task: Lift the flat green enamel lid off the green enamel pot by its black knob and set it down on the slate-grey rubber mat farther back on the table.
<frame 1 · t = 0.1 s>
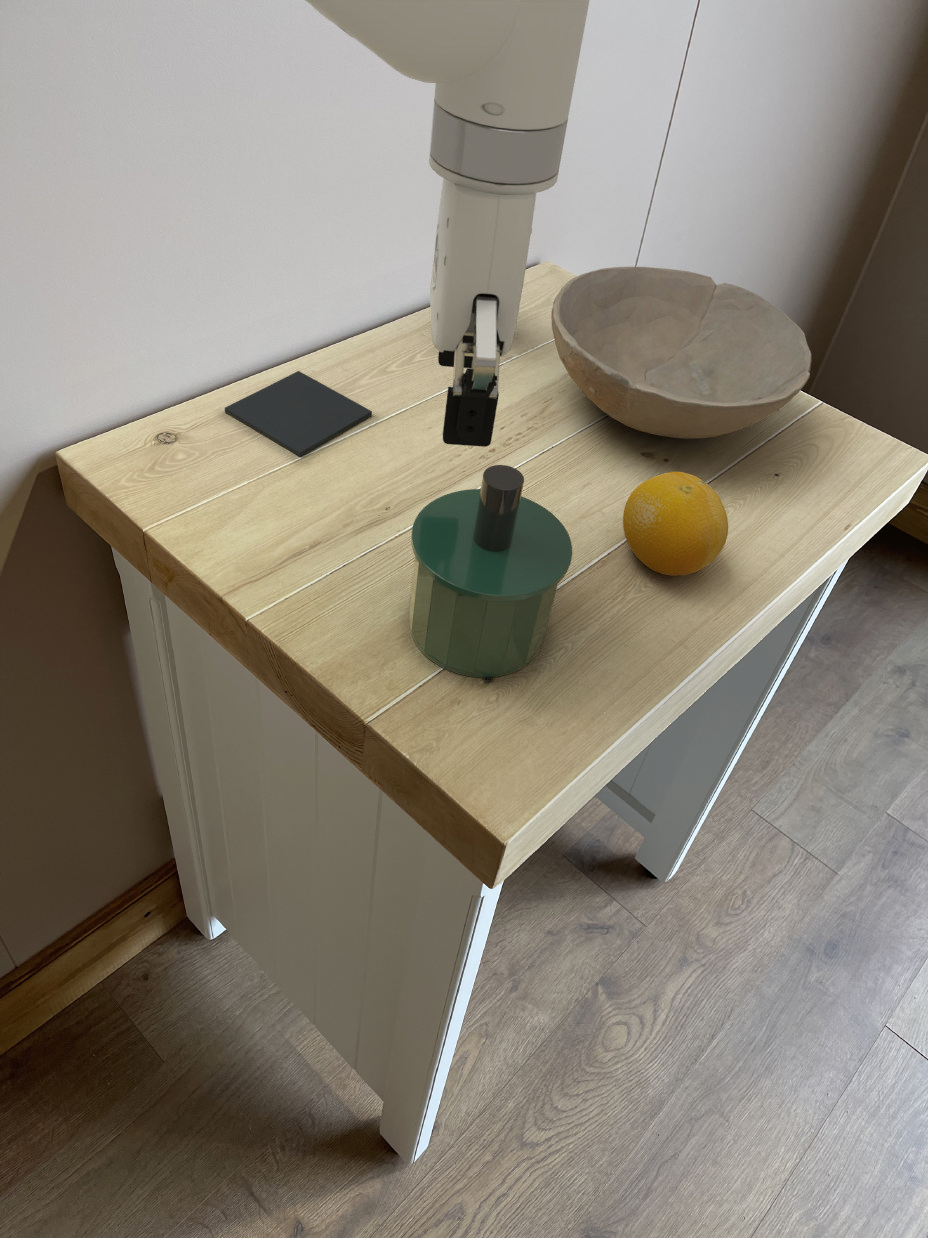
hand: (462, 402, 64), 16 cm above the table, tool pointing down, fingers open, 9 cm apart
fruit: (661, 560, 81), on the table
pot: (476, 626, 72), on the table
lid: (491, 545, 66), point 8 cm above the table, touching pot
beverage cup: (461, 334, 105), on the table
bowl: (656, 412, 98), on the table
mat: (299, 413, 90), on the table
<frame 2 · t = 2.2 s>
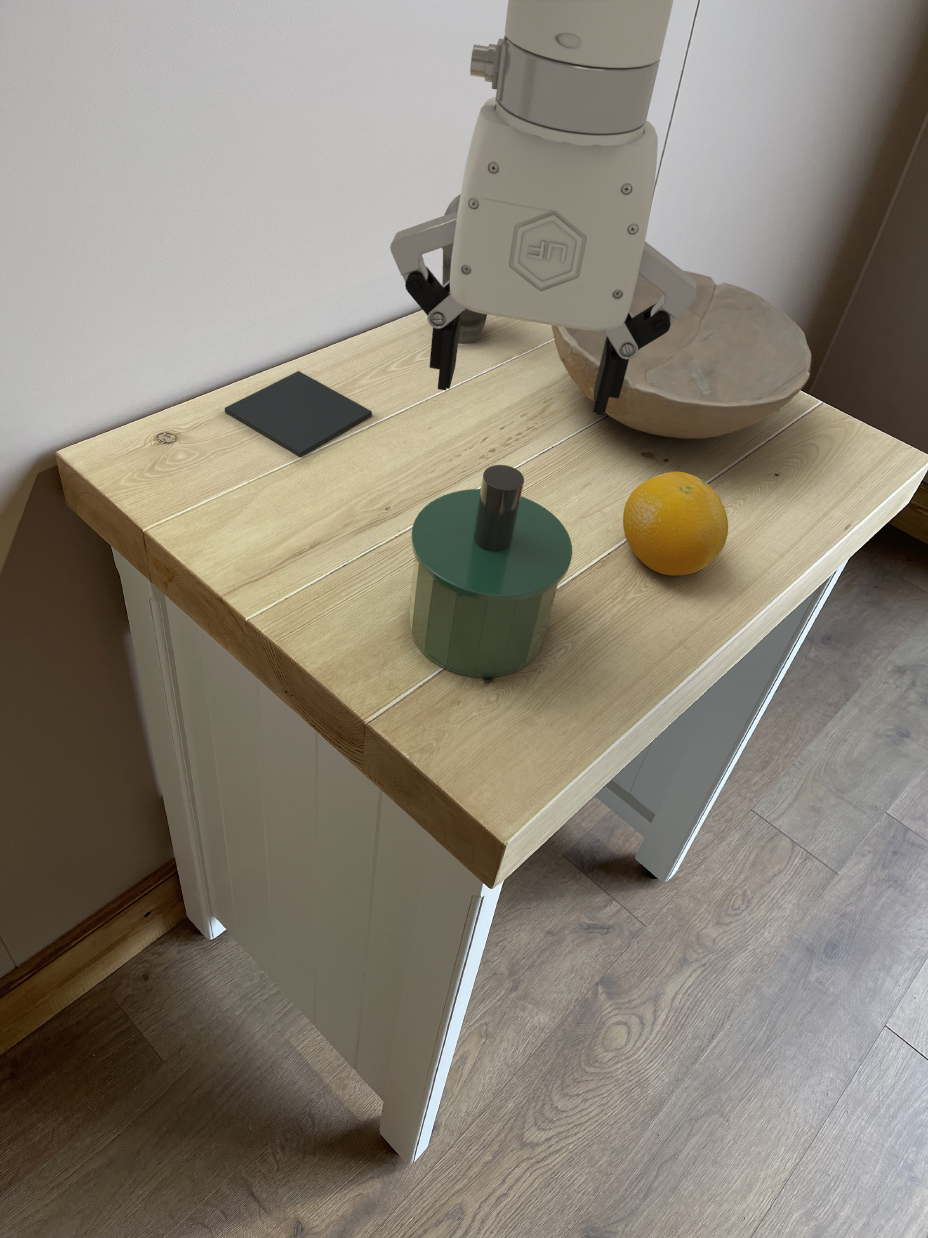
hand: (522, 391, 57), 21 cm above the table, tool pointing down, fingers open, 9 cm apart
nothing on the table moved.
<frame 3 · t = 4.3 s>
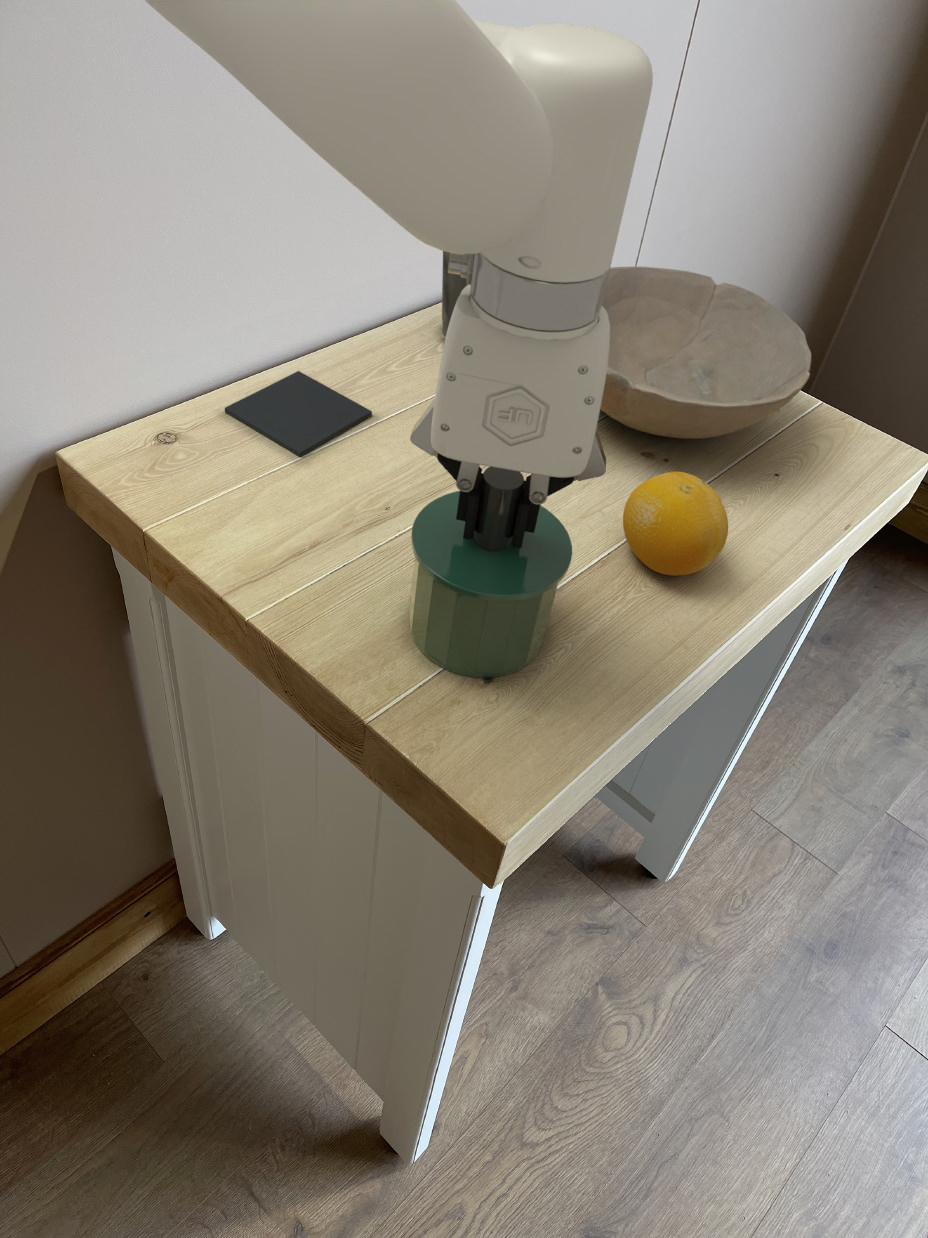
hand: (494, 529, 65), 10 cm above the table, tool pointing down, fingers closed on lid, 2 cm apart
lid: (491, 545, 66), point 9 cm above the table, touching gripper, pot
everything else where it was.
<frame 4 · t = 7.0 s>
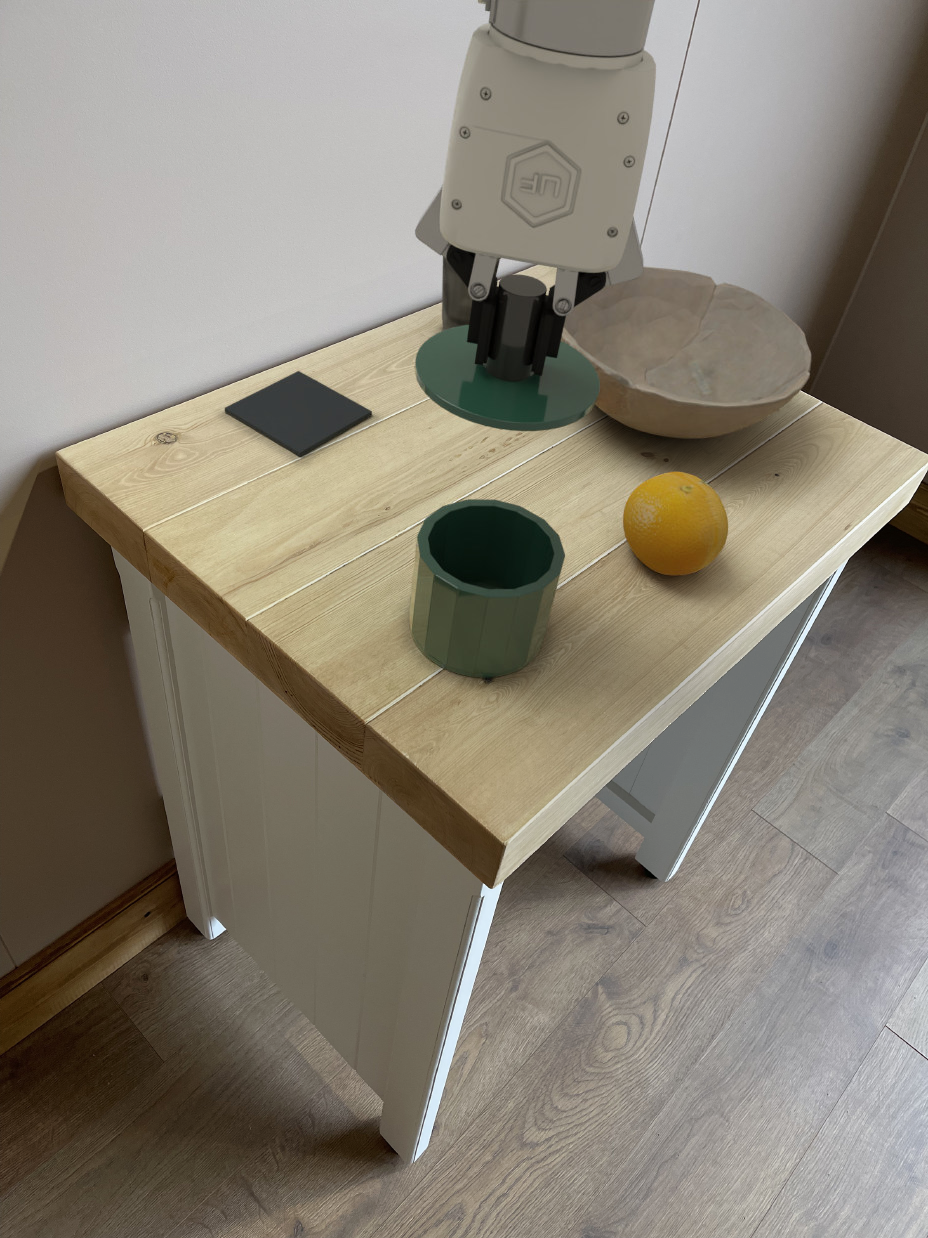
hand: (510, 356, 56), 23 cm above the table, tool pointing down, fingers closed on lid, 2 cm apart
lid: (506, 378, 58), point 22 cm above the table, touching gripper
everything else where it was.
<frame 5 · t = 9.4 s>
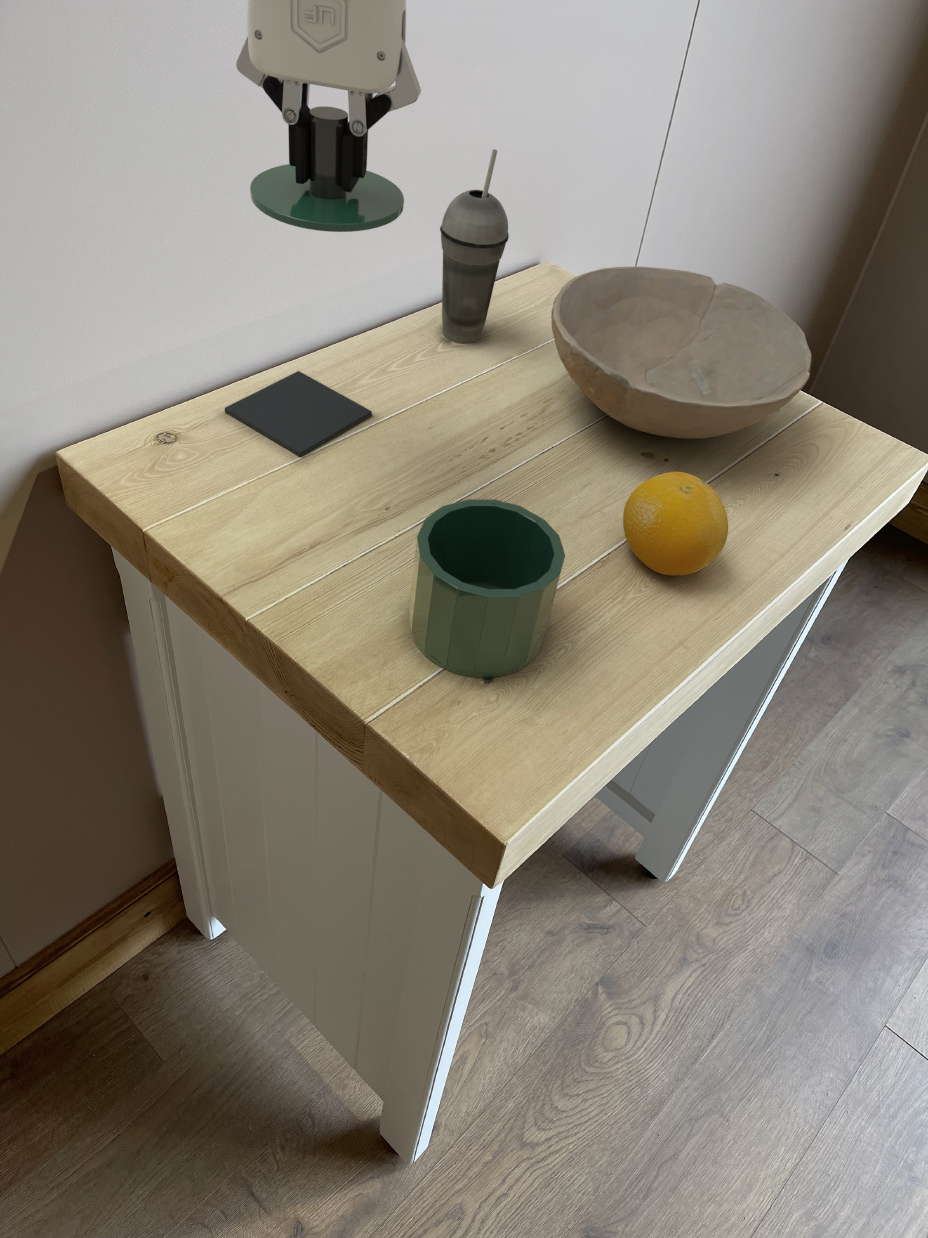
hand: (328, 178, 69), 24 cm above the table, tool pointing down, fingers closed on lid, 2 cm apart
lid: (328, 199, 70), point 23 cm above the table, touching gripper
everything else where it was.
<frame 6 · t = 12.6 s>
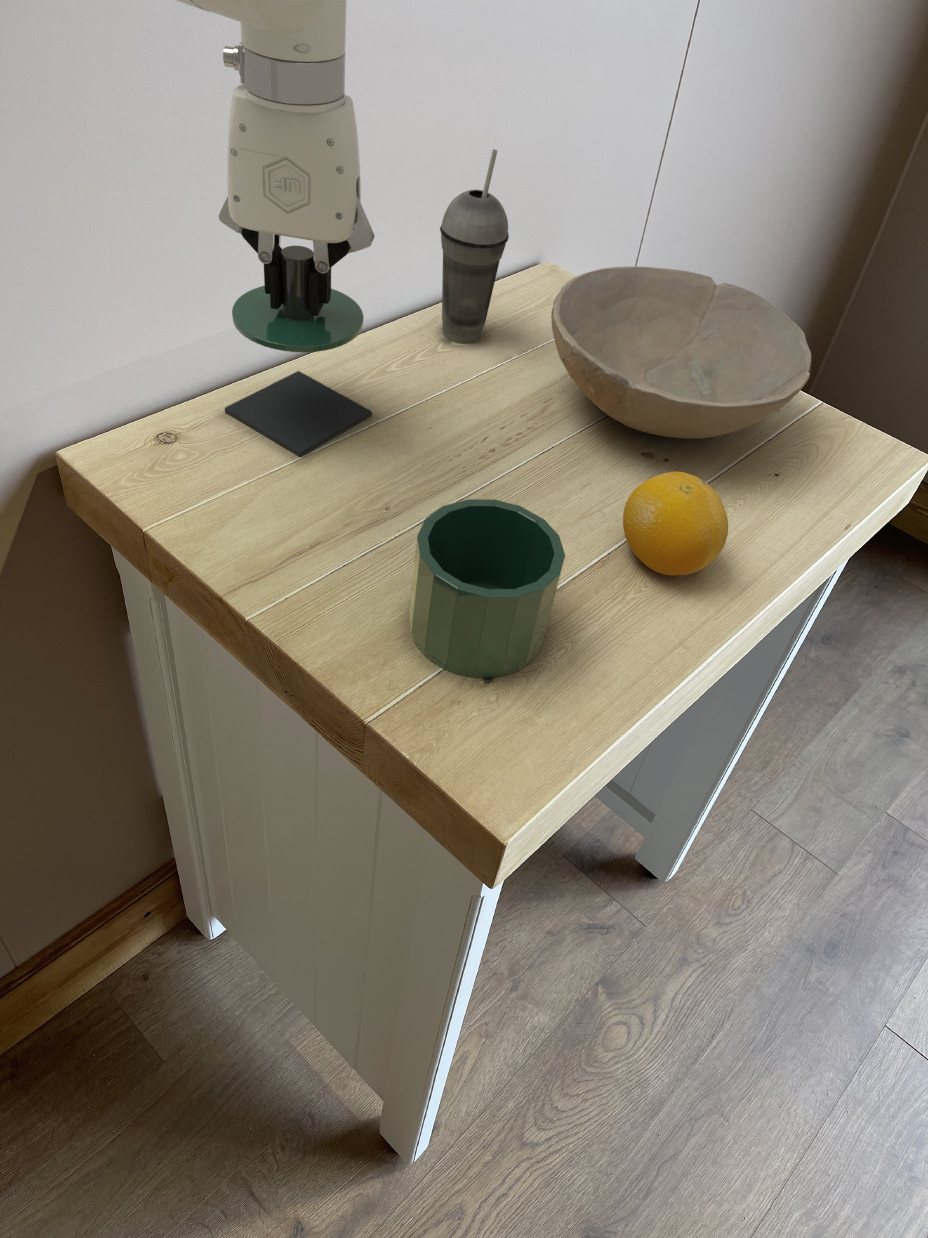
hand: (298, 303, 82), 11 cm above the table, tool pointing down, fingers closed on lid, 2 cm apart
lid: (298, 318, 83), point 10 cm above the table, touching gripper
everything else where it was.
when the fingers open (3 cm above the table, at t = 14.8 s): lid stays where it is, resting on mat.
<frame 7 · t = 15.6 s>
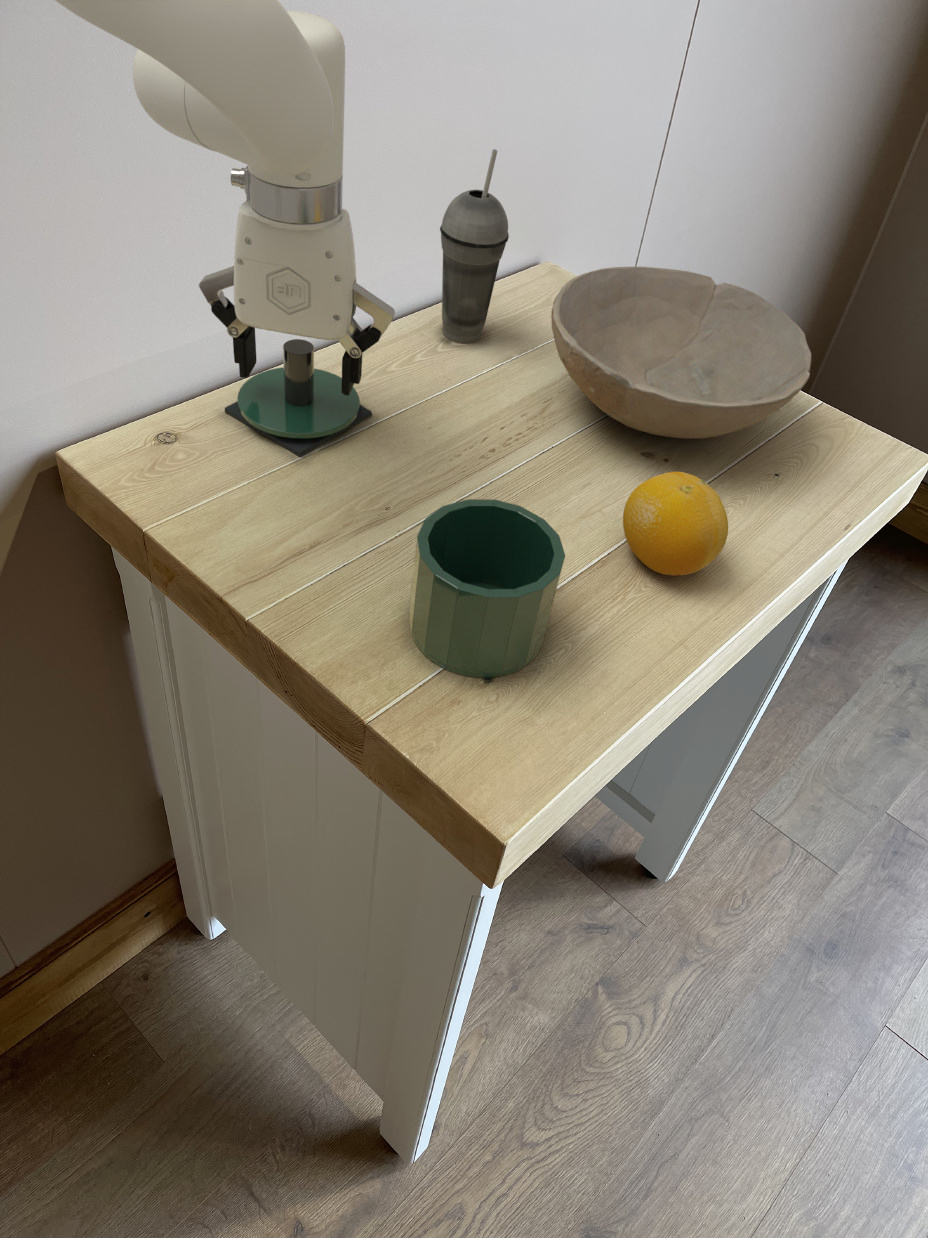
hand: (298, 378, 87), 4 cm above the table, tool pointing down, fingers open, 9 cm apart
lid: (299, 403, 89), point 1 cm above the table, touching mat
everything else where it was.
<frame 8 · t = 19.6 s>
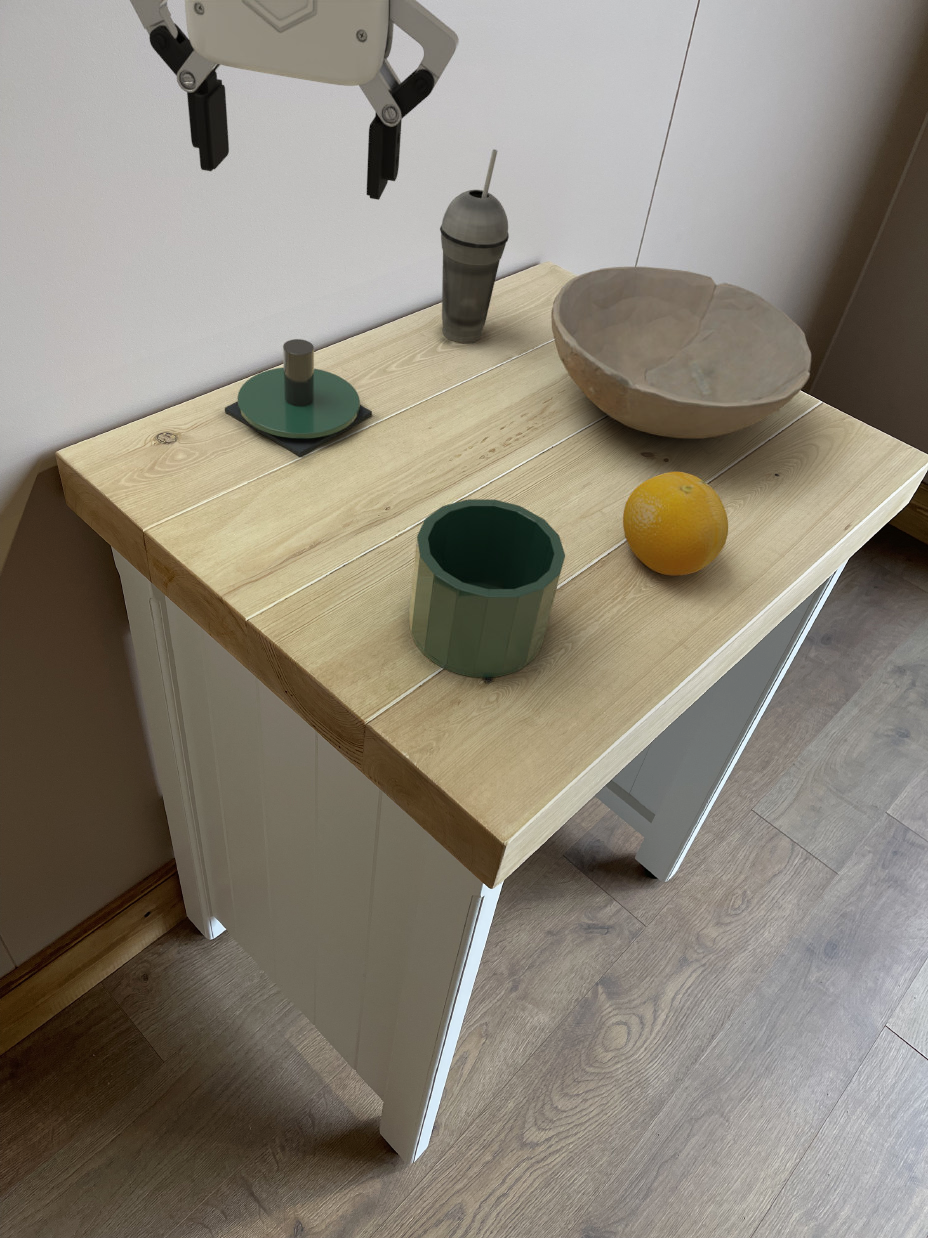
hand: (296, 176, 54), 30 cm above the table, tool pointing down, fingers open, 9 cm apart
nothing on the table moved.
at the end: lid inside the target area on the mat (0.1 cm from its centre), point 1.1 cm above the mat's base; lid tilted 0° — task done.
